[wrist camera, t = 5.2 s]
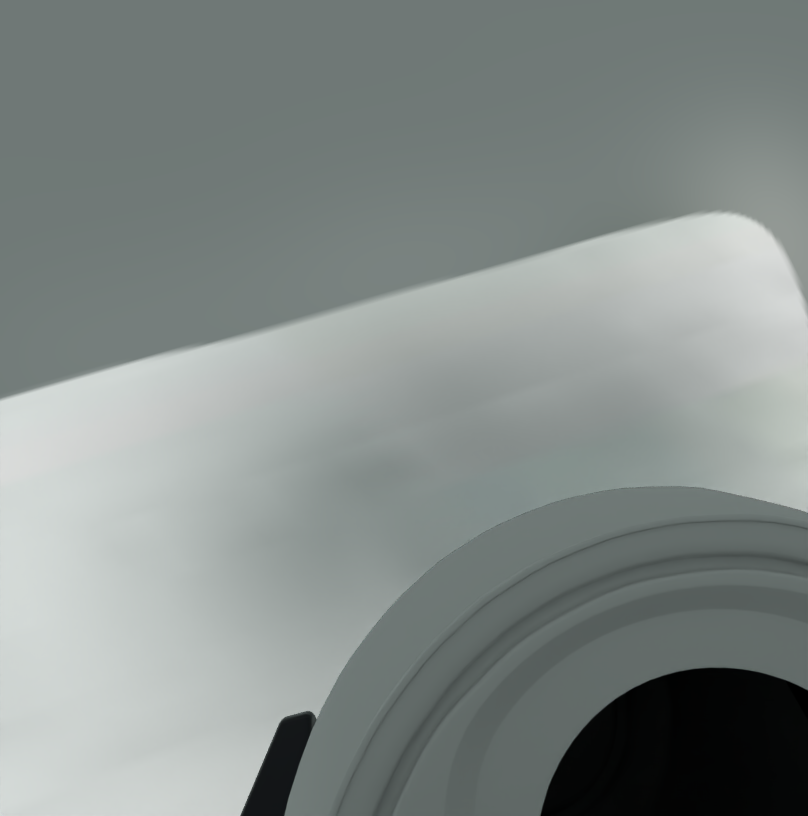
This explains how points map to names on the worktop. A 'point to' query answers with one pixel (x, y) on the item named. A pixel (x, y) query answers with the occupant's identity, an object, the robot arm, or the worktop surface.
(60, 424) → the worktop surface
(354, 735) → the beverage can
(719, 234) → the worktop surface
